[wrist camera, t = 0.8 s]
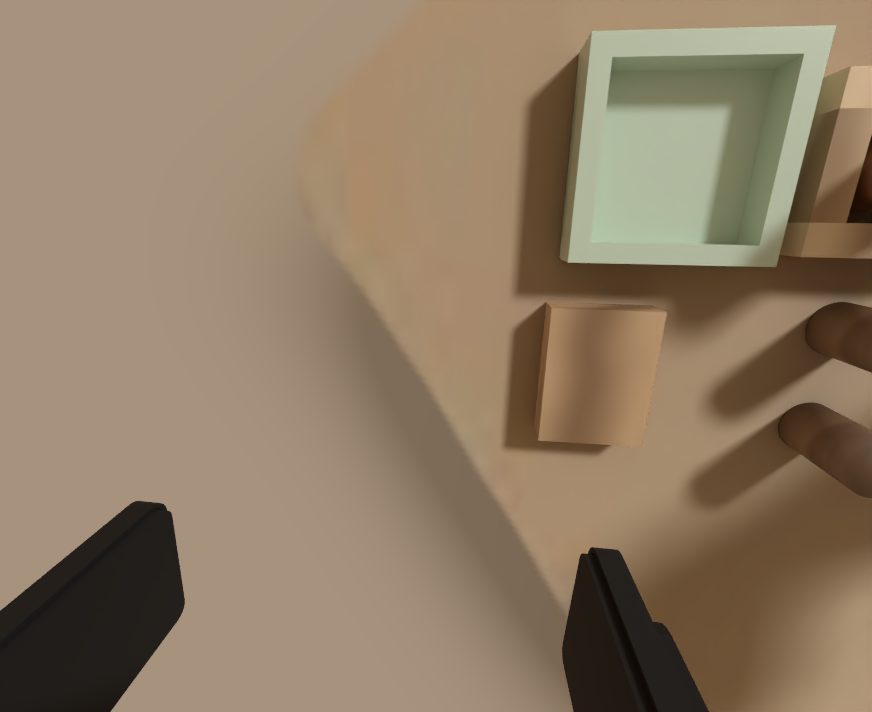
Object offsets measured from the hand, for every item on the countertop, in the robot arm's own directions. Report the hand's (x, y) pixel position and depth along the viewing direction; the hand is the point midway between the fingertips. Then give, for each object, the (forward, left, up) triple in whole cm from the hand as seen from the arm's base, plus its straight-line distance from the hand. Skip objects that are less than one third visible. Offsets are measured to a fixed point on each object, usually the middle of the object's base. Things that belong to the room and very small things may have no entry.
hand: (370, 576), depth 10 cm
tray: (-12, -11, -18) cm, 24 cm away
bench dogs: (-22, +1, -18) cm, 28 cm away
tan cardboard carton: (-9, +1, -18) cm, 20 cm away
